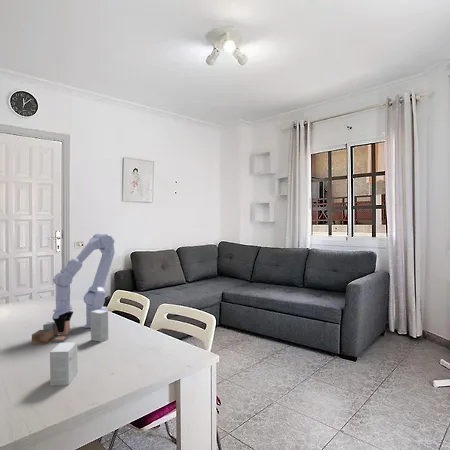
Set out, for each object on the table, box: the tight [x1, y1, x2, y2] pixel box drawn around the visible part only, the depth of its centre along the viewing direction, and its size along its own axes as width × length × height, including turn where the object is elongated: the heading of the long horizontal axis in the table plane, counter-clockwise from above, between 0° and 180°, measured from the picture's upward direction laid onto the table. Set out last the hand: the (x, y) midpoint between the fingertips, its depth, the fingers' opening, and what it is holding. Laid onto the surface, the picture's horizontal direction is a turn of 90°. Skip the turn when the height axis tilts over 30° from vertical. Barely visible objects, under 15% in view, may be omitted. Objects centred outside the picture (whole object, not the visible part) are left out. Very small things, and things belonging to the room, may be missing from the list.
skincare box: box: [90, 310, 109, 343], centre depth 140 cm, size 6×4×12 cm
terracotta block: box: [56, 320, 71, 336], centre depth 148 cm, size 4×4×5 cm
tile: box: [50, 335, 70, 343], centre depth 140 cm, size 5×5×1 cm
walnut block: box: [31, 329, 55, 345], centre depth 138 cm, size 6×6×4 cm
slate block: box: [42, 321, 57, 336], centre depth 146 cm, size 4×4×5 cm
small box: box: [49, 341, 79, 387], centre depth 105 cm, size 8×6×10 cm
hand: (63, 330), depth 148 cm, fingers closed on terracotta block, 4 cm apart
